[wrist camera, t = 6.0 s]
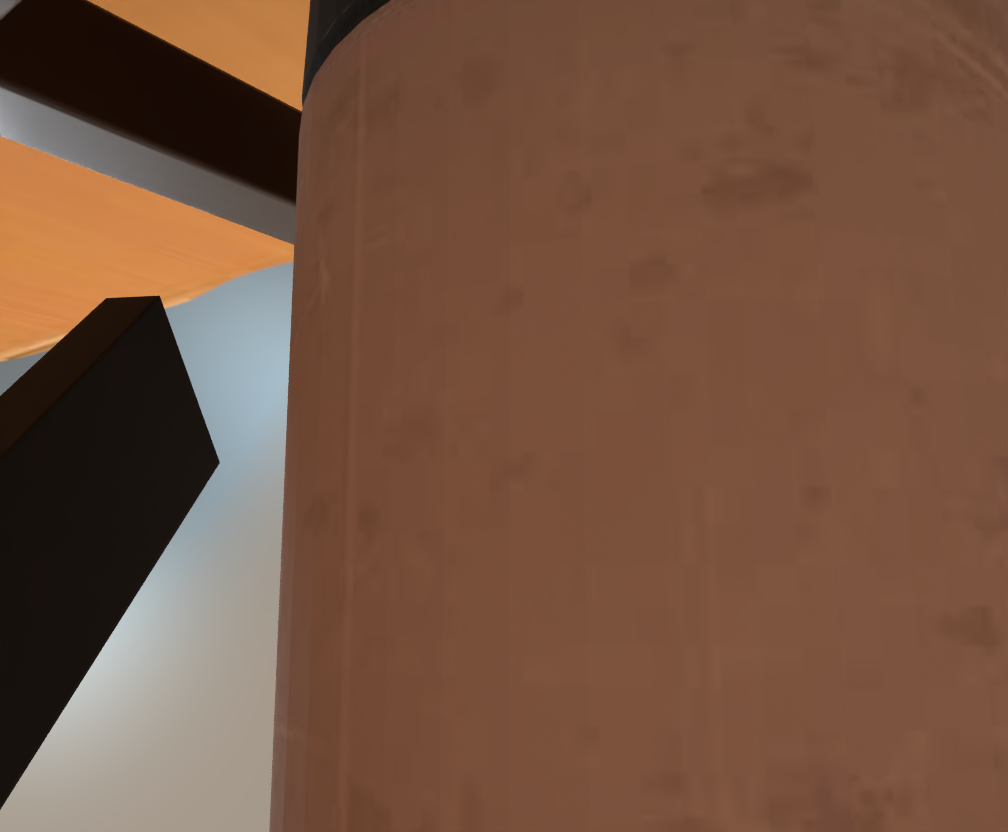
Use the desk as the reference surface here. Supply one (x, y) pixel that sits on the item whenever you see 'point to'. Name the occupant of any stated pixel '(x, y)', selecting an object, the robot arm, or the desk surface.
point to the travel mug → (647, 419)
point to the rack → (146, 113)
